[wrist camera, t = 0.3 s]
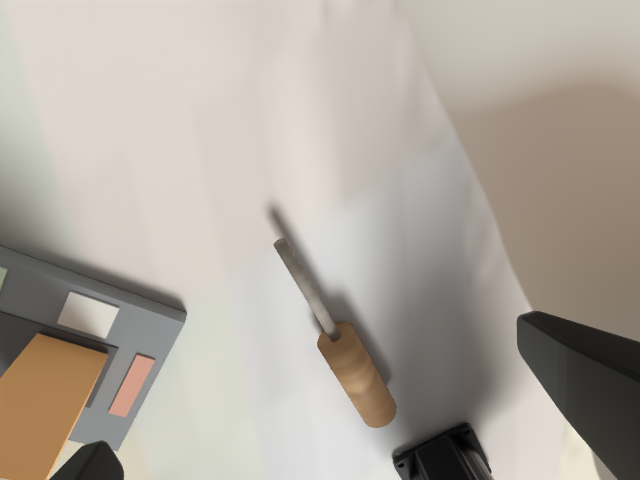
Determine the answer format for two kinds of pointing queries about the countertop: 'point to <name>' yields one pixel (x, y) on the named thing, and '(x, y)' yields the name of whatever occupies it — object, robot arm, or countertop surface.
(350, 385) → the wooden handled tool
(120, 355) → the switch board
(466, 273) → the countertop surface
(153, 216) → the countertop surface
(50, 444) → the lidded box
